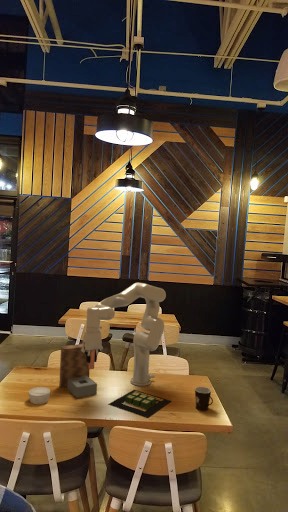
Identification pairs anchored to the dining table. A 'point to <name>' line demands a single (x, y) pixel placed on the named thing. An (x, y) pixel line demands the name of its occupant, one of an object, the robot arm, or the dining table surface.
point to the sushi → (140, 403)
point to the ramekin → (39, 395)
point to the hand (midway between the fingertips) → (91, 361)
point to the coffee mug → (202, 398)
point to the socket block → (82, 386)
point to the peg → (92, 359)
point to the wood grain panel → (72, 364)
